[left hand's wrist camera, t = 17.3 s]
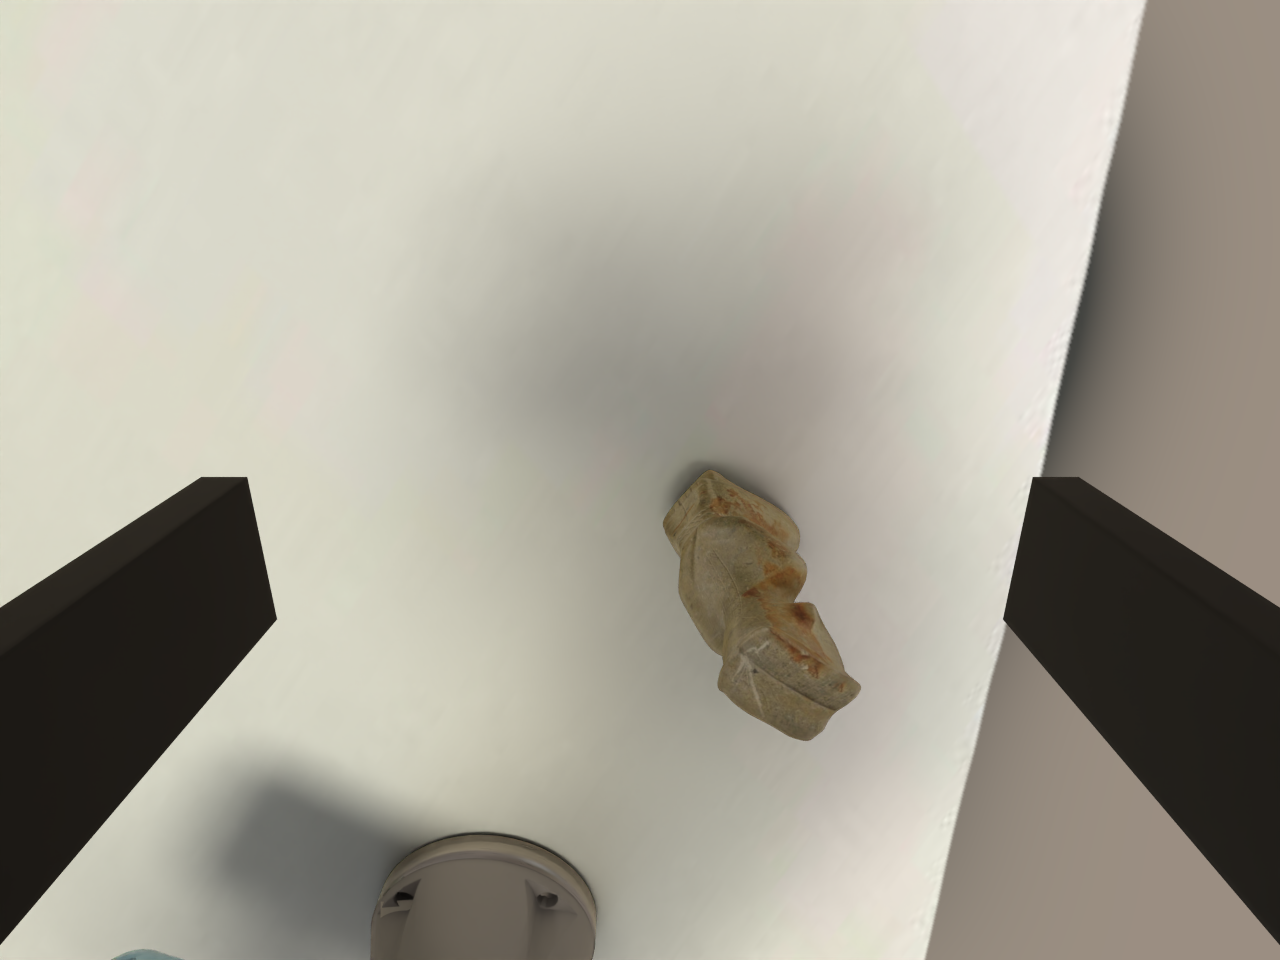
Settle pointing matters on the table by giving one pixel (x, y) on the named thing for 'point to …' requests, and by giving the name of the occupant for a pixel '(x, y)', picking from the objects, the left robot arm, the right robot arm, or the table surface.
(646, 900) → the table surface
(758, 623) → the sculpture
